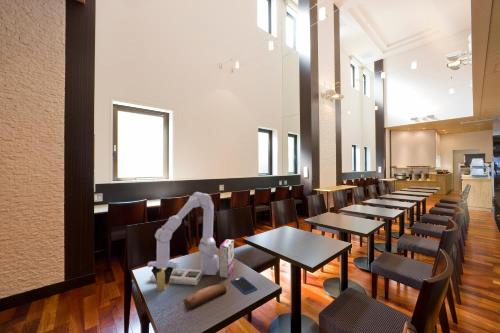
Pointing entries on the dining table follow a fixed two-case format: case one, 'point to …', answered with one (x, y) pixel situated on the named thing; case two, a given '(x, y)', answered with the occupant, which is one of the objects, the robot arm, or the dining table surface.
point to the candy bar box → (226, 258)
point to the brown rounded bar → (204, 295)
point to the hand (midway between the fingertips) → (163, 282)
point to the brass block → (161, 280)
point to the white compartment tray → (183, 276)
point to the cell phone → (244, 285)
